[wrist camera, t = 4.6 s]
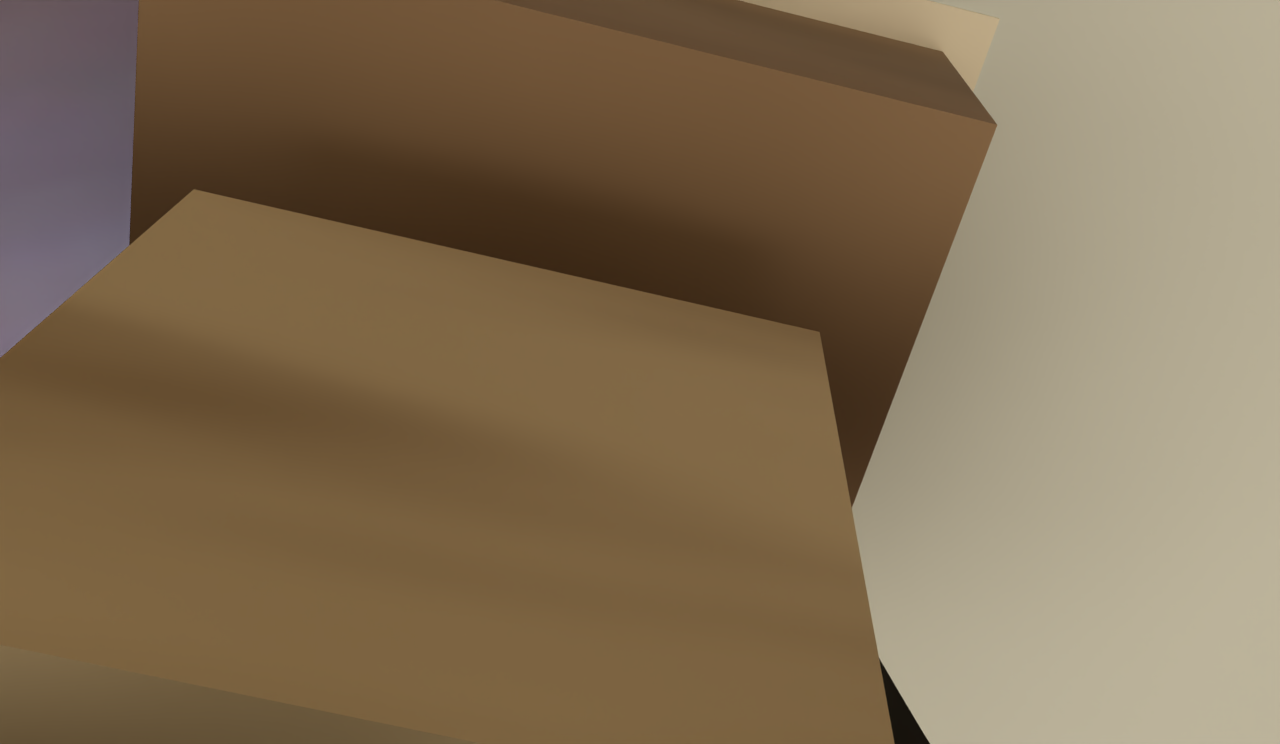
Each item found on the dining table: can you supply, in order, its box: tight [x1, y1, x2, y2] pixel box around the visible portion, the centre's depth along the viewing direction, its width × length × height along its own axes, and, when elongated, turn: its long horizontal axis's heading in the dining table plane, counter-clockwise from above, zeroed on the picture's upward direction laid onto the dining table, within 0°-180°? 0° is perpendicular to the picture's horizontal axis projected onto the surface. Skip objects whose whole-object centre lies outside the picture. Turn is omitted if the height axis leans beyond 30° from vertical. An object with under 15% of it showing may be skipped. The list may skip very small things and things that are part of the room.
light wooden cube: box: [0, 189, 895, 744], centre depth 8 cm, size 5×5×5 cm
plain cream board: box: [739, 0, 1280, 744], centre depth 18 cm, size 19×22×1 cm
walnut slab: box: [129, 0, 997, 507], centre depth 14 cm, size 8×8×3 cm
